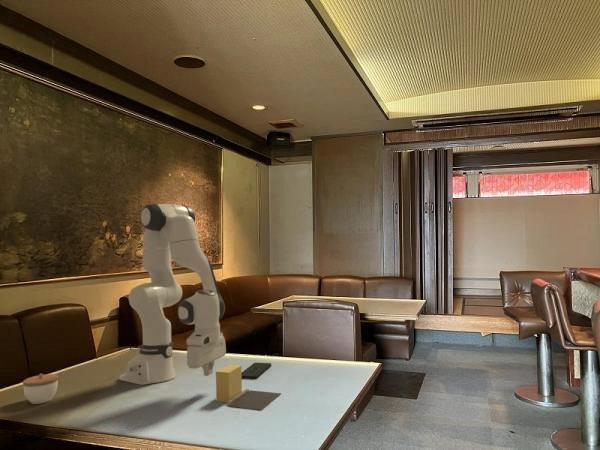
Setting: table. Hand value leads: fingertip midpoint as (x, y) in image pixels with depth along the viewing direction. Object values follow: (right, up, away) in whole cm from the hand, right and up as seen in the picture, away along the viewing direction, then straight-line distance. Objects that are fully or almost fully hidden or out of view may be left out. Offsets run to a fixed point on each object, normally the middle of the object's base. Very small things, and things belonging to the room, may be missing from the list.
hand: (208, 374), depth 157 cm
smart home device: (+14, -9, +28) cm, 32 cm away
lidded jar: (-59, -9, -2) cm, 59 cm away
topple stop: (+17, -7, -6) cm, 19 cm away
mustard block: (+8, -7, -3) cm, 11 cm away
